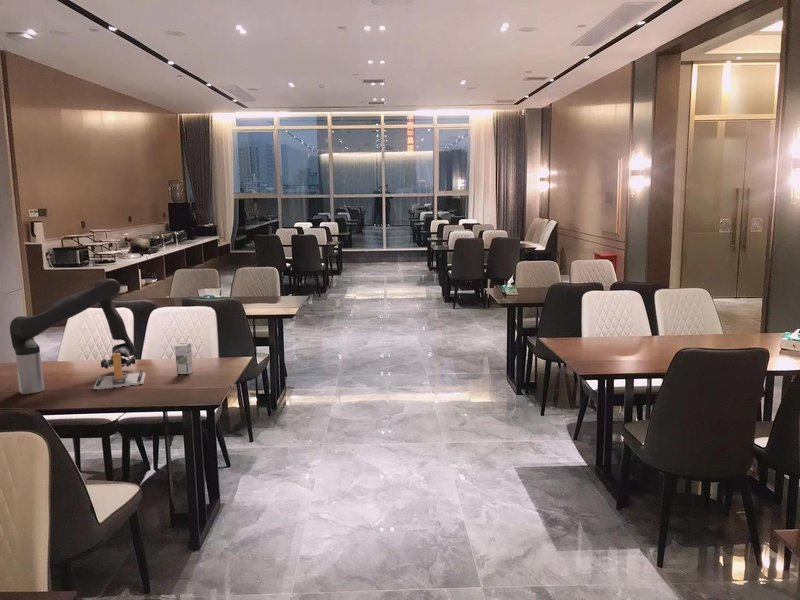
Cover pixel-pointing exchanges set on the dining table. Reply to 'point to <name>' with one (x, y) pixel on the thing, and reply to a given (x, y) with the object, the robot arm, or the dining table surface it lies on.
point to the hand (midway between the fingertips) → (117, 365)
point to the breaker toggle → (117, 367)
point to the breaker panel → (129, 380)
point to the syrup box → (183, 358)
